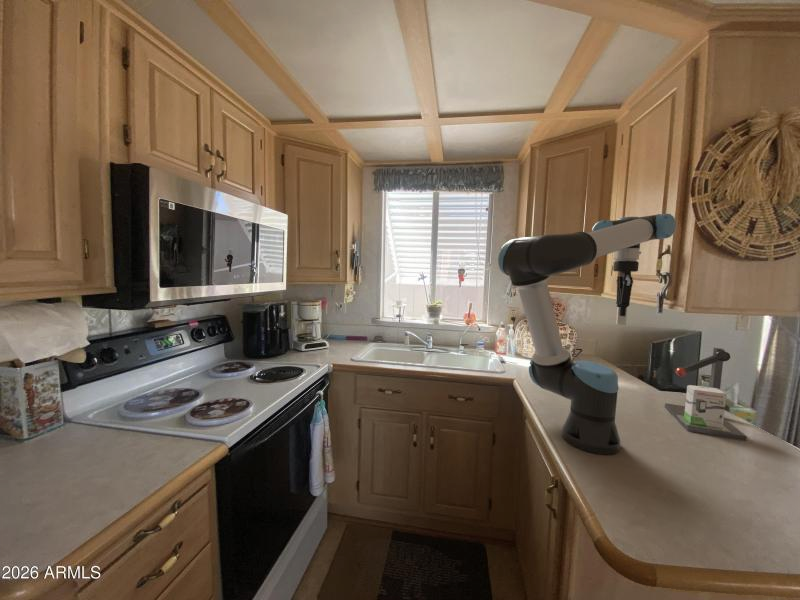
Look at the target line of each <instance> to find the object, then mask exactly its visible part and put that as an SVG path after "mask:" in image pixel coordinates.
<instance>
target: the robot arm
mask: <svg viewBox="0 0 800 600" xmlns="http://www.w3.org/2000/svg"><path fill="white" fill-rule="evenodd" d="M676 227H677V224H676V218H675V217H674V216H673V215H672V213H657V214H652V215H646V216H625V217H619V218H618V219H617V220H616V219H615V220H611V219H607V220H604V219H602V220H599V221H597V222H595V224H594V225H593V226H592V228H591V231H590V232H586V231H577V232H576V231H575V232H572V233H561V234H559V233H558V234H542V235H535V236H525V237H522V236H521V237H517V238H514V239H510V240H509V241H507V242H505V243H504V244H503V245H502V246H501V249H500V251H499V254H498V257H497V258H498V259H497V262H498V268H499V269H500V271H501V272H502V274H505V275H506V276H509V279H510V283H511V285H512V286H513V287H515V288H517V289H518V293H519V297H520V300H521V303H522V307H523V311H524V315H525V318H526V322H527V326H528V329H529V332H530V333H529V334H530V337H531V340H532V344H533V349H534V353H533V354H532V358H531V359H530V361H529V364H530V365H529V366H528V373H529V374H528V375H529V377H530V379H531V381H532V382H533V383H534V384H535V385H536V386H538V387H540V388H541V389H543V390H546V391H549V392H551V393H553V394H556V395H559V396H561V397H563V398H565V399H568V400H569V401H570V407H569V408H570V409H569V410H570V411H569V412H568V413H569V414H568V415H567V417H566V420H565V422H564V424H563V426H562V431H561V432H562V433H561V435H562V437H563V440H565V441H566V442H567V443H568V444H570V445H571V446H573V447H575V448H577V449H579V450H582V451H585V452H588V453H591V454H597V455H614V454H615V455H616V454H618V453H619V452H620V451H621V438H620V435H619V431H618V429H617V423H616V411H617V402H618V391H619V377H618V374H617V372H616V371H615V370H613V368H610V367H608V365H607V366H606V365H605V364H602V363H599V362H596V361H595V362H593V361H590V360H582V359H581V360H576V361H574V362H573V361H572V357H571V353H570V351H569V349H568V348H565V347H564V346H563V342H562V339H561V333H560V329H559V326H558V323H557V317H556V314H555V310H554V306H553V301H552V297H551V293H550V289H549V285H548V280H549V279H550V278H551V276H555V275H560V274H564V273H566V272H567V273H568V272H570V271H573V270H576V269H579V268H581V267H585V266H588V265H590V264H592V263H593V262H594V261H595V260H596V259H597V258H599V257H602V256H607V255H609V254H612V253H614V254H613V260H614V262H613V267H612V271H613V272H619V275H618V276H617V279H616V303H615V304H616V308H617V311H616V322H615V324H616V325H617V326H618V325H619V326H621V325H622V326H626V325H627V315H628V314H627V313H628V308H629V306H630V302H631V294H632V287H633V284H634V280H633V276H632V273H633V272H634V273H636V272H638V271H639V265H640V264H639V263H640V262H639V260H640V255H641V254H642V251H640V250H641V244H642V243H646V242H649V241H653V240H664V239H670V238H671V237H672V236H673V235H674V234H675V231H676Z"/></svg>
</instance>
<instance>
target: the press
mask: <svg viewBox="0 0 800 600" xmlns="http://www.w3.org/2000/svg"><path fill="white" fill-rule="evenodd" d="M718 350H723V351H725V349H723V348H720V347H719V348H718V347H713V350H712V351H713V352H712V356H713V355H714V353H715V352H716V351H718ZM723 365H724V361H718V362H715V363H712V364H711V369H710V379H709V387H710V388H717V389H720V390H721V384H722V375H723V367H724V366H723ZM664 408H665V409H666V411H668V412H669V414H671V415H672V417H674V418H675V420H676V421H677V422H678V424H680V425H681V426H682V427H683V429H685V430H686V431H687V432H691V433H692V432H693V433H697V434H704V435H709V436H715V437H719V438H720V437H721V438H728V439H732V440H739V441H745V442H746V441H747V438H748V436H747V435H746V434H745V433H743V432H742V431H741V430H739V429H738V428H736V426H734V425H733V424H732V423H730V421H728V420H726V419H725V418H724V420H723V428H718V427H711V426H705V425H698V424H692V423H690V422H689V421H687V420H686V419H685V418H684V413H685V405H679V404H673V403H668V402H667V403H664Z"/></svg>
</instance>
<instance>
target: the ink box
mask: <svg viewBox="0 0 800 600" xmlns="http://www.w3.org/2000/svg"><path fill="white" fill-rule="evenodd" d="M727 396H728V394H727V393H726V392H724V391H722V390H721V388H720V389H717V388H710V386H709V387H708V386H700V385H693V384H692V385H691V384H688V385H687V386H686V395H685V405H684V406H685V413H684V418H685V419H686V420H687V421H689V422H690V423H692V424H698V425H705V426H711V427H718V428H723V420H724V419H725V411H726V403H727Z"/></svg>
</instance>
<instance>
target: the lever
mask: <svg viewBox="0 0 800 600" xmlns="http://www.w3.org/2000/svg"><path fill="white" fill-rule="evenodd" d="M730 359H731V354H730V353H729V352H727V351H725V350H724V351H723V350H718V351H716V352H715V353H714V355H713V354H712V355H711V356H708V357H705V358H703V359H701V360H698V361H694V362H693V363H690V364H688V365H685V366H683V367H677V368H675V370H674V371H675V374H676V375H677V376H679V377H685V376H686V375H687V374H689V373H691V372H694V371H697V370H699V369H702V368H704V367H707V366H710V365H712V363H715V362H718V361H723V362H728V361H730Z"/></svg>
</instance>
